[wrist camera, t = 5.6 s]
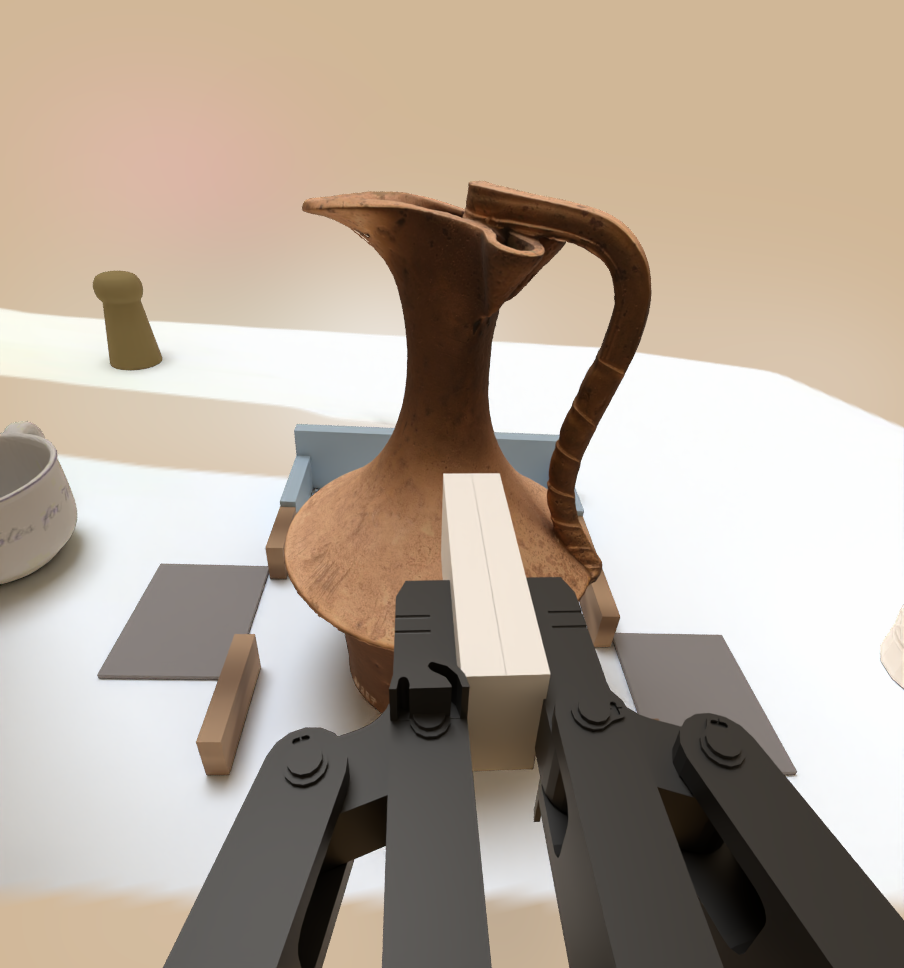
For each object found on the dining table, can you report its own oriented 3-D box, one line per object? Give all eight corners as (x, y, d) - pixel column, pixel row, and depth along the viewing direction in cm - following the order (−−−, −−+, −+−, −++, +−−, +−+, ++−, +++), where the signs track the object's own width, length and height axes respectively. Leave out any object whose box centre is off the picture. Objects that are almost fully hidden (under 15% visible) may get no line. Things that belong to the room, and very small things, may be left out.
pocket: (575, 544, 49) (590, 485, 45) (284, 535, 47) (276, 474, 44) (557, 489, 55) (568, 435, 52) (302, 480, 54) (296, 424, 50)
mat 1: (233, 679, 35) (232, 676, 35) (98, 678, 35) (97, 675, 35) (269, 569, 44) (269, 566, 43) (161, 566, 43) (160, 563, 43)
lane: (653, 774, 32) (667, 743, 30) (206, 774, 30) (195, 742, 29) (575, 544, 49) (582, 516, 47) (283, 536, 47) (280, 506, 45)
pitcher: (575, 597, 43) (684, 184, 28) (554, 824, 30) (746, 252, 14) (357, 549, 46) (345, 150, 31) (244, 734, 32) (117, 179, 17)
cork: (117, 352, 76) (93, 265, 70) (166, 351, 77) (147, 266, 71) (104, 370, 71) (78, 279, 65) (157, 369, 72) (136, 279, 66)
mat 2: (795, 774, 33) (797, 771, 32) (658, 774, 32) (660, 771, 32) (720, 637, 41) (721, 634, 41) (611, 635, 40) (612, 632, 40)
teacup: (26, 619, 38) (-21, 524, 34) (-132, 602, 38) (-199, 506, 34) (137, 499, 50) (113, 417, 45) (15, 487, 50) (-21, 404, 46)
